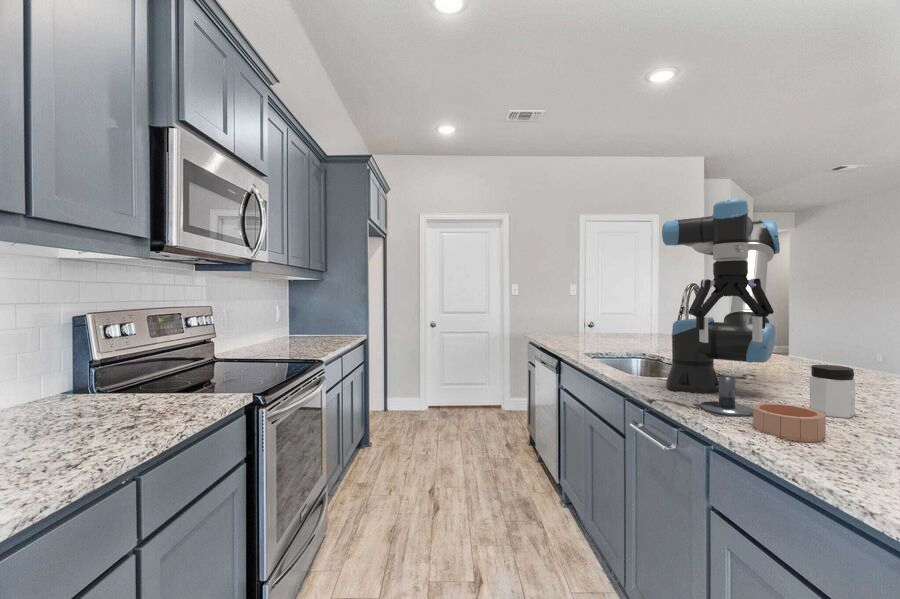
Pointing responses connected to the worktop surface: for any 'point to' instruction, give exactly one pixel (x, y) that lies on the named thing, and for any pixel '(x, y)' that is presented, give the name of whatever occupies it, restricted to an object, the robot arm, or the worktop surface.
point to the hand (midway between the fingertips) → (730, 342)
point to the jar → (832, 390)
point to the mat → (718, 414)
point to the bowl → (790, 422)
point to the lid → (727, 400)
